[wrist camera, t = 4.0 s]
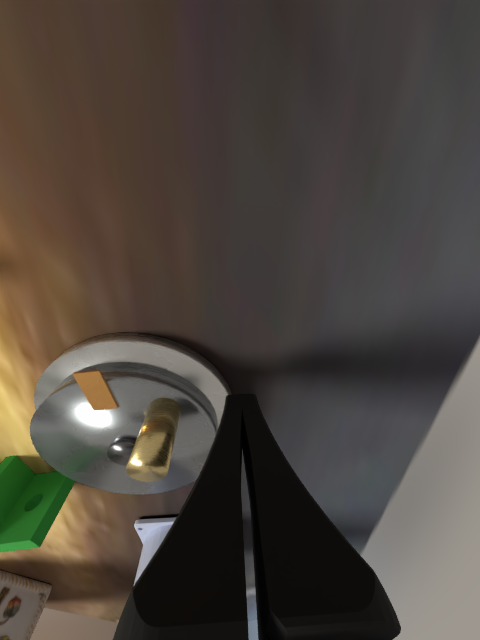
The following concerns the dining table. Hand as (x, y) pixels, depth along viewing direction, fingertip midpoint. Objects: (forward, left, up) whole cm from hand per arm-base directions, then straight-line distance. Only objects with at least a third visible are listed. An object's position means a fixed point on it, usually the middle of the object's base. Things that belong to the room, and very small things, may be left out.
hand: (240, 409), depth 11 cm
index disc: (-3, +6, -2) cm, 8 cm away
